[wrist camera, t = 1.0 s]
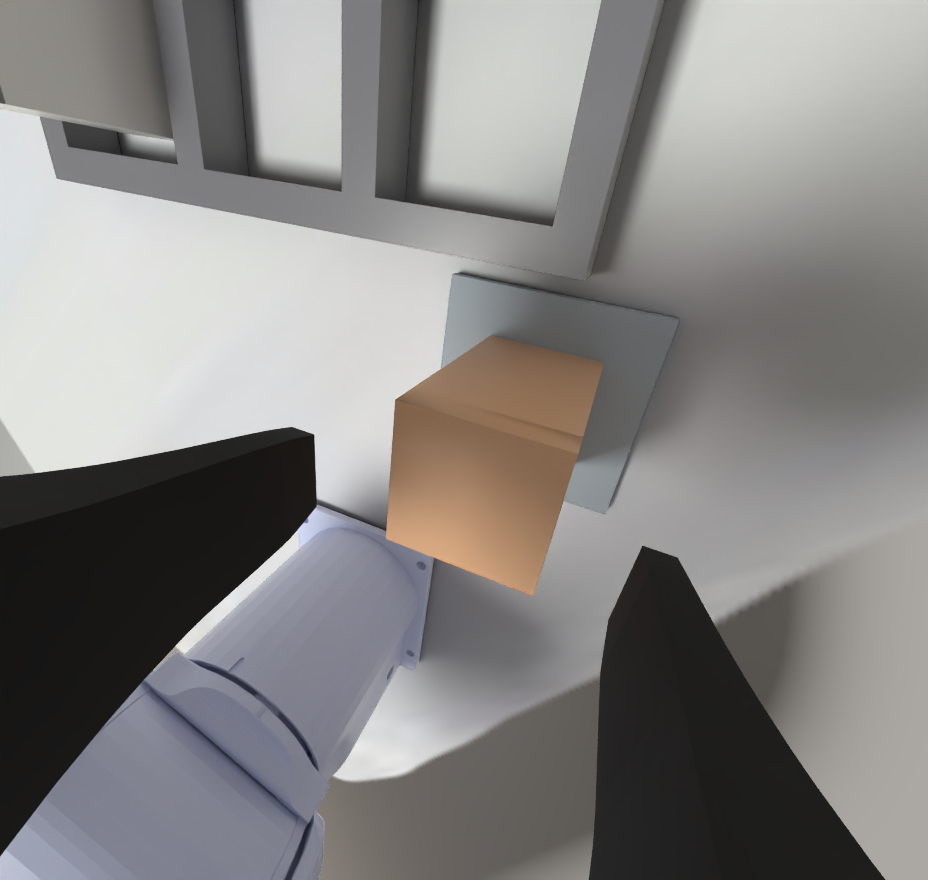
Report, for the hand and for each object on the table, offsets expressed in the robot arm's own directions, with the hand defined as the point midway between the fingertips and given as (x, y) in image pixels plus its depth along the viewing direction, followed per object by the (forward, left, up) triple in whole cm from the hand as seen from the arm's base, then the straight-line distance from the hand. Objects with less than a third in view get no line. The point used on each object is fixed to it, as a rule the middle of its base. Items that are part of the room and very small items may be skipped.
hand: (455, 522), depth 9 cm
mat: (0, 0, -8) cm, 8 cm away
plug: (0, 0, -8) cm, 8 cm away
